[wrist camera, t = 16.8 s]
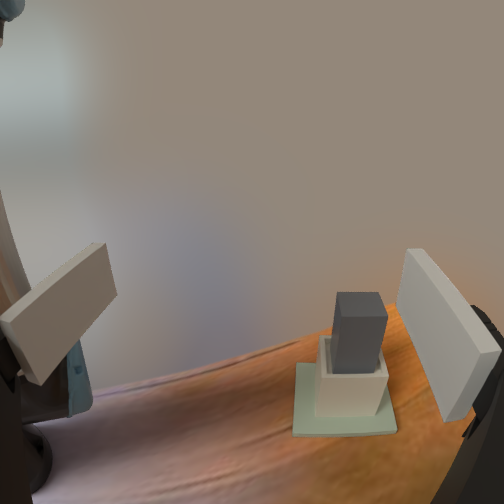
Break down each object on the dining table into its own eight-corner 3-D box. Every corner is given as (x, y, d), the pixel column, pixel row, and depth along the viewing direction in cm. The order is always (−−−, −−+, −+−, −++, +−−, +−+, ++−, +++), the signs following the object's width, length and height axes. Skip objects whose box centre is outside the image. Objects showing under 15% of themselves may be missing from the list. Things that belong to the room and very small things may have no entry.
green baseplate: (292, 436, 40) (292, 433, 40) (296, 366, 55) (296, 362, 55) (395, 433, 38) (397, 429, 38) (380, 366, 53) (381, 362, 52)
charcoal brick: (332, 374, 41) (341, 316, 37) (329, 347, 46) (336, 291, 42) (373, 373, 40) (388, 316, 36) (367, 347, 45) (378, 292, 41)
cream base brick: (314, 417, 42) (321, 377, 39) (314, 375, 51) (319, 335, 48) (374, 415, 41) (389, 376, 38) (367, 374, 50) (377, 335, 46)
